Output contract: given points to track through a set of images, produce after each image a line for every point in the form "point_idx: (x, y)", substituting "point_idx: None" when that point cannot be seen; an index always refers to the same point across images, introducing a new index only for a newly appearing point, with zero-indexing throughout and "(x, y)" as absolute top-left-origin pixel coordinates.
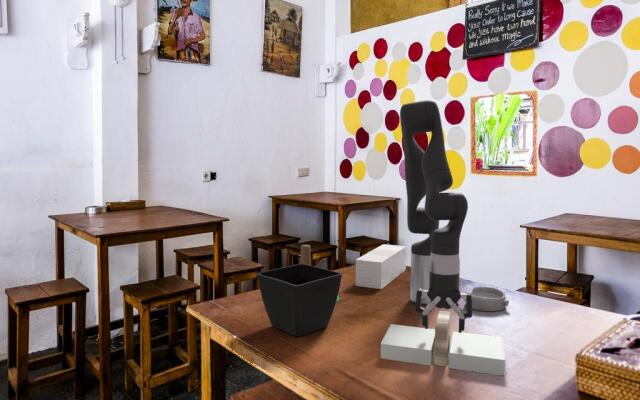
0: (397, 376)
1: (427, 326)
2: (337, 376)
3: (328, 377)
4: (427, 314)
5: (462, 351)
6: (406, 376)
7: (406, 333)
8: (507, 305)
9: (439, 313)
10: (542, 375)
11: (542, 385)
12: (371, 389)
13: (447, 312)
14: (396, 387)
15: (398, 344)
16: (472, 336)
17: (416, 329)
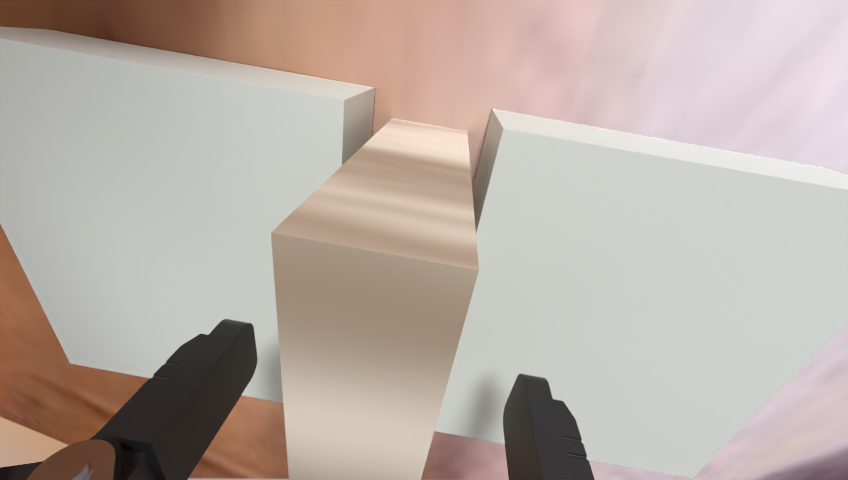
0: (250, 413)
1: (243, 391)
2: (79, 417)
3: (60, 421)
4: (153, 475)
5: (496, 417)
6: (278, 412)
7: (131, 220)
8: None
9: (293, 350)
10: (841, 393)
11: (768, 447)
12: (203, 463)
13: (416, 307)
14: (265, 456)
15: (157, 368)
16: (653, 221)
17: (171, 126)
